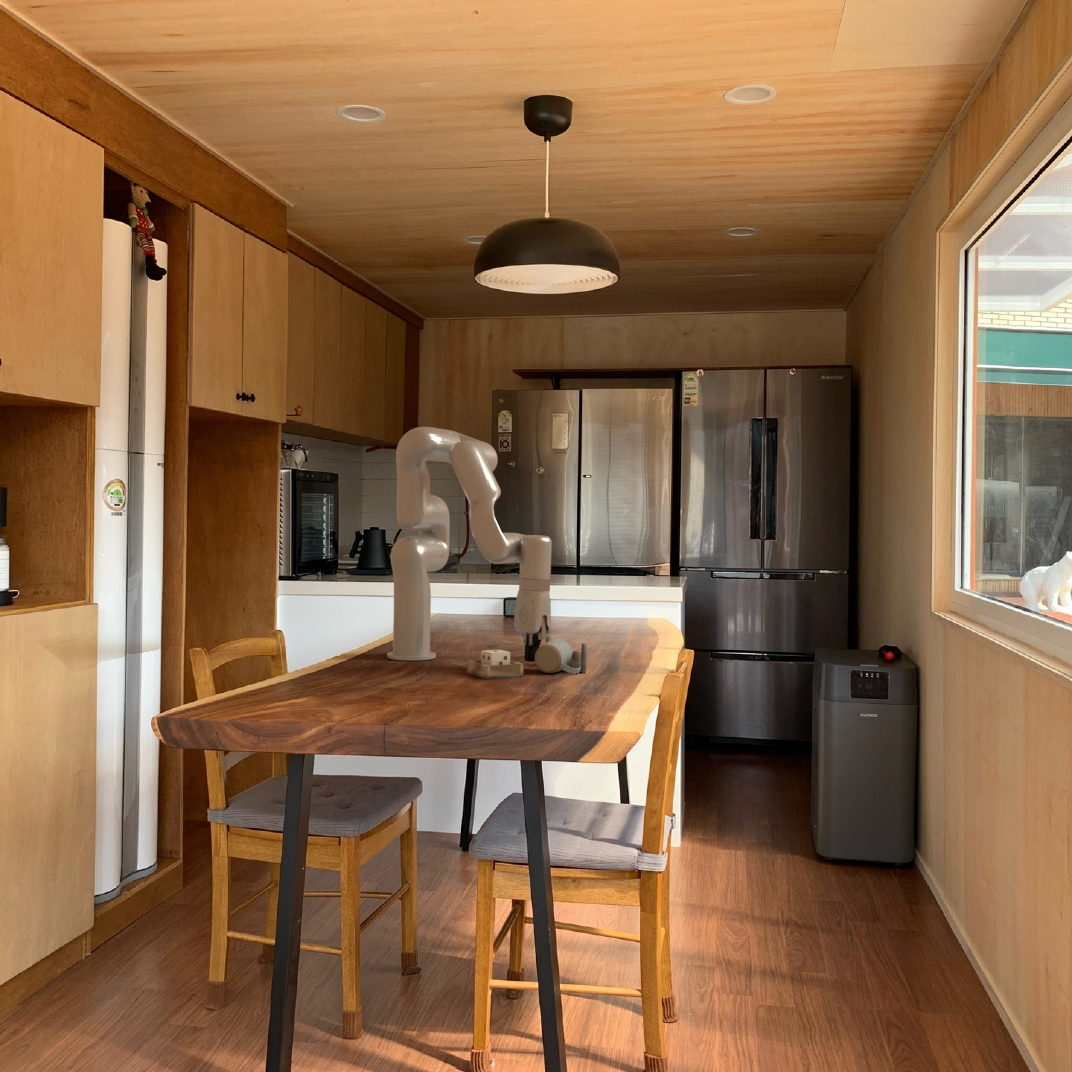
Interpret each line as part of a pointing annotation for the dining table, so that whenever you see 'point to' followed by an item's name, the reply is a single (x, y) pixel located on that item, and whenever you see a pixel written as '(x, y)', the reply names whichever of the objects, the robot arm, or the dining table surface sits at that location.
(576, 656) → the scoring rail
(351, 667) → the dining table surface
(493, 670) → the felt tray
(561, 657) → the ceramic mug
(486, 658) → the die
